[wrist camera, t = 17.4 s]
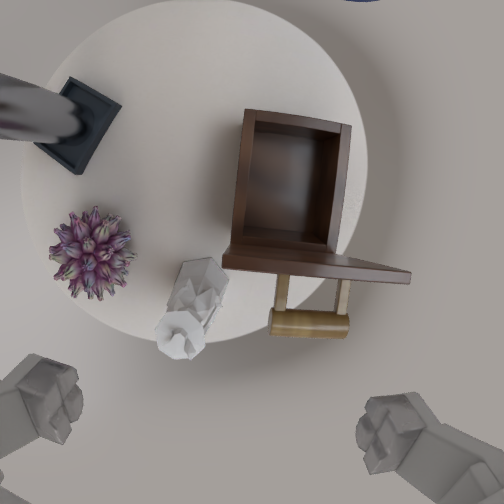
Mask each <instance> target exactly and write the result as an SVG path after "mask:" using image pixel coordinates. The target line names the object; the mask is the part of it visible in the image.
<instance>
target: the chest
mask: <svg viewBox="0 0 504 504" xmlns="http://www.w3.org/2000/svg"><path fill="white" fill-rule="evenodd" d="M351 128H352V126H351V125H347V124H341V123H337V122H332V121H327V120H321V119H316V118H310V117H304V116H298V115H292V114H285V113H278V112H270V111H262V110H257V111H256V110H253V109H245V111H244V119H243V128H242V136H241V145H240V154H239V163H238V172H237V181H236V191H235V201H234V210H233V220H232V230H231V241H230V243H234V244H244V245H254V246H264V247H274V248H284V249H294V250H303V251H313V252H323V253H332V254H336V248H337V242H338V235H339V229H340V222H341V216H342V209H343V201H344V194H345V186H346V178H347V169H348V160H349V150H350V140H351Z"/></svg>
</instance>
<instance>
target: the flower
mask: <svg viewBox="0 0 504 504" xmlns="http://www.w3.org/2000/svg"><path fill="white" fill-rule="evenodd" d="M82 215H83V216H82V219H80V218H79V217H77V216H76V215H75V214H74V212H72V213H69V216H70V218H71V227H70V226H66V225H65V224H64V223H63V224H61V225H60V228H61V229H62V230H63V231H62V230H59V229H58V228H56V229H55V228H54V233H56V234H57V235H58V236H59V238H60V240H61V243H59V244H57V245H56V246H50V248H49V249H50V250H49V251H50V253H53V254H50V255H49V259H50V260H55V261H56V262H58V263H60V264H62V265H61V266H60V268H59V271H58V272H57V273H56V274H55V275H54V280H56V281H57V280H59V279H62V281H65V280H66V279H70V285H69V287H68V289H69V290H70V291H72V294H71V297H74V298H76V297H77V295H78V294H79V293H80V292H81V291H83V290H84V292H87V293H88V299H93V295H94V293H95V294H96V295H97V297H98V300H99V301H101V300H103V291H104V289H105V290H107V291H108V292H109V293H110V295H111V296H114V294H115V291H114V284H117V285H120V286H122V287H123V288H124V286H126V284H127V283H126V282H125V281H124V278H123V275H126V276H127V275H128V271H127V270H125V268H124V267H123V266H127V267H128V266H129V265H130V261H132V260H136V259H137V253H132V252H131V251H129V250H128V249H126V248H124V247H123V246H124V245H125V243H126V242H127V241H128V240H130V239H131V237H130V235H129V234H130V230H128V231H126V232H117V230H118V224H119V222H120V220H121V218H120V217H119V216H118V215H117V216H116V217H115V218H114V219H112V218H113V215H111V214H108V215H107V217H105V218H103V219H102V220H101V219H100V216H99V213H98V206H96V207H95V206H94V207H93V211H92V213H91V215H90V216H88V212H87V211H84V212H83V214H82Z"/></svg>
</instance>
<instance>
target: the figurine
mask: <svg viewBox="0 0 504 504" xmlns="http://www.w3.org/2000/svg"><path fill="white" fill-rule="evenodd" d="M228 281H229V279H228V278H227V276H226V275H225V274H224V273H223V272H222V270H221V269H220V268H219V267H218V265H217V264H216V263H215V262H214V260H213V259H212V258H206V259H199V260H193V261H186V262H184V263H183V265H182V267H181V270H180V272H179V275H178V277H177V280H176V282H175V285H174V289H173V291H172V294H171V296H170V298H169V301H168V303H167V306H168V308H167V311H166V313H165V315H164V316H163V318H162V319H161V321H160V322H159V323H158V325H157V326H156V328H155V332H156V338H157V343H158V349H159V350H160V351H162V352H163V353H165V354H166V355H168V356H170V357H171V358H173V359H184V358H189V359H190V361H191V360H192V358H194V357H195V356H196V355H197V354H198V353H199V352H200V351H201V350H202V349H203V348H205V339H204V335H205V333H206V332H207V330H208V328H209V327H210V325H211V323H213V322H214V319H215V316H216V314H217V312H218V310H219V309H220V308H221V307H223V306H222V304H221V301H222V298H223V295H224V292H225V290H226V287H227V284H228Z"/></svg>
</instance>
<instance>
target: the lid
mask: <svg viewBox="0 0 504 504" xmlns="http://www.w3.org/2000/svg"><path fill="white" fill-rule="evenodd" d="M222 268H223V269H230V270H241V271H251V272H261V273H272V274H277V281H276V290H275V298H274V307H272V308H271V309H270V312H269V319H268V334H269V336H283V337H300V338H326V339H344V338H346V336H347V334H348V331H349V317H348V314H347V313H346V311H347V305H348V299H349V292H350V285H351V280H354V281H367V282H381V283H394V284H410V280H411V272H409V271H405V270H401V269H397V268H393V267H389V266H385V265H381V264H376V263H372V262H368V261H364V260H360V259H356V258H351V257H347V256H343V255H339V254H332V253H323V252H313V251H303V250H294V249H284V248H274V247H264V246H254V245H244V244H234V243H230V245H229V246H228V248H227V249H226V251H225V252H224V254H223V256H222ZM290 275H294V276H306V277H317V278H329V279H338V285H337V291H336V299H335V305H334V311H317V310H301V309H287V308H286V303H287V295H288V287H289V279H290Z"/></svg>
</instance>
